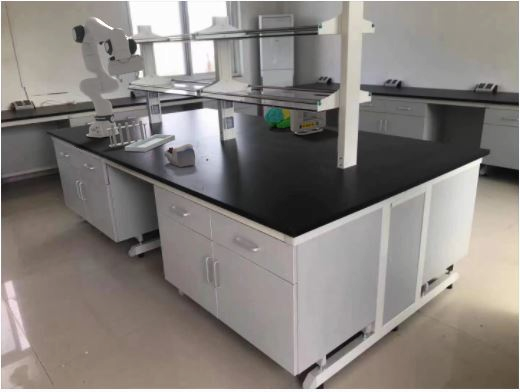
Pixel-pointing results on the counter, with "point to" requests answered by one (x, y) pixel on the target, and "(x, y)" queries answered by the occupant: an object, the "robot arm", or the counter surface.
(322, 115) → the network device
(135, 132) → the test tube rack
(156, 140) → the tray
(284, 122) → the brain model
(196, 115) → the counter surface
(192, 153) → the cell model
